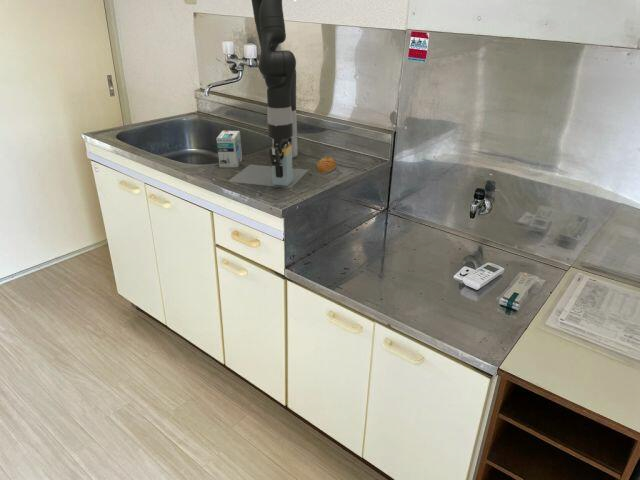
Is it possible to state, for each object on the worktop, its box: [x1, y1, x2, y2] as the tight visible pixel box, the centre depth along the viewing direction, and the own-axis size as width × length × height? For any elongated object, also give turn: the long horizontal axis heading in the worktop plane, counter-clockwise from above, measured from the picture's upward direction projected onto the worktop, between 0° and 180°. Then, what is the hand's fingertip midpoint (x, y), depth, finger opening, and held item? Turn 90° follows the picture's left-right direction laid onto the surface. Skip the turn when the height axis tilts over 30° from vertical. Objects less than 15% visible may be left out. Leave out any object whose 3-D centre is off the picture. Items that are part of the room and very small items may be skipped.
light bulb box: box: [216, 130, 243, 168], centre depth 173 cm, size 11×7×11 cm, turn 179°
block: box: [270, 144, 293, 186], centre depth 152 cm, size 5×5×12 cm
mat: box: [227, 164, 309, 189], centre depth 162 cm, size 18×22×1 cm
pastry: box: [316, 156, 337, 174], centre depth 167 cm, size 9×7×4 cm
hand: (282, 173), depth 153 cm, fingers closed on block, 5 cm apart
